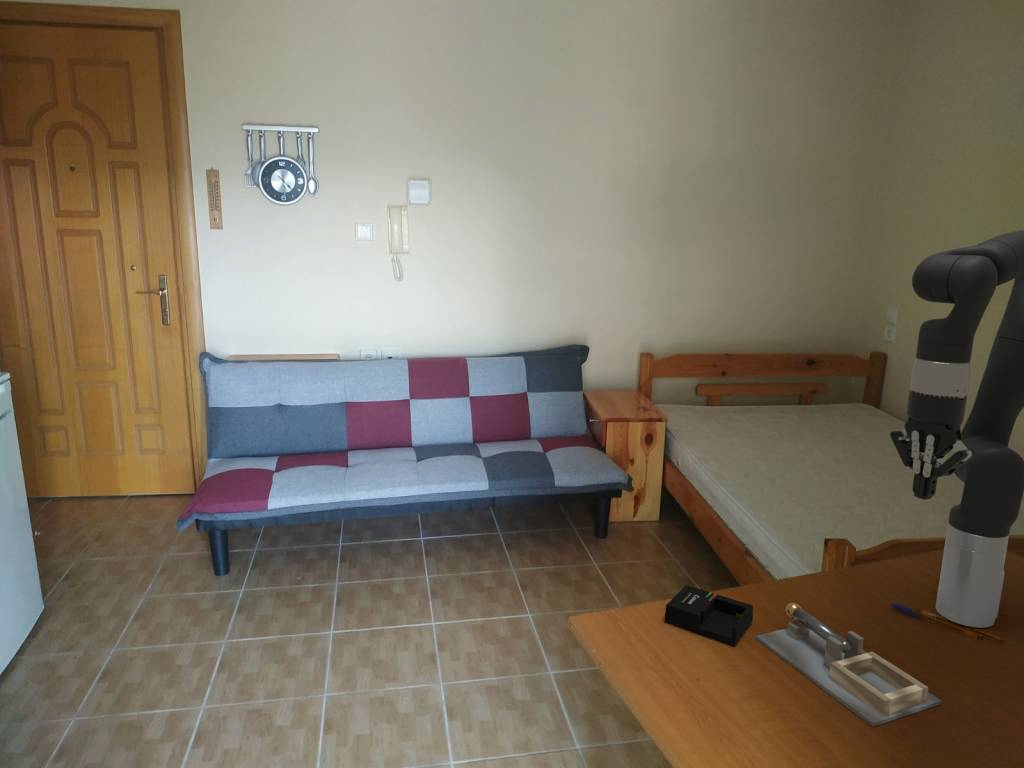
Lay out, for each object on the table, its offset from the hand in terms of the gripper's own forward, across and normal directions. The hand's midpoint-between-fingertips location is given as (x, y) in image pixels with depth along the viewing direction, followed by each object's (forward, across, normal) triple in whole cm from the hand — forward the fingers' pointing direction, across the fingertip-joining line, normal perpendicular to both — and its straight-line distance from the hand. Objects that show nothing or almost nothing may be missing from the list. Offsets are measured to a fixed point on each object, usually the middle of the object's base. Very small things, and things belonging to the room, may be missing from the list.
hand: (922, 497), depth 108 cm
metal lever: (+25, -2, -10) cm, 27 cm away
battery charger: (+30, -22, -22) cm, 43 cm away
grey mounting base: (+29, +4, -10) cm, 31 cm away
